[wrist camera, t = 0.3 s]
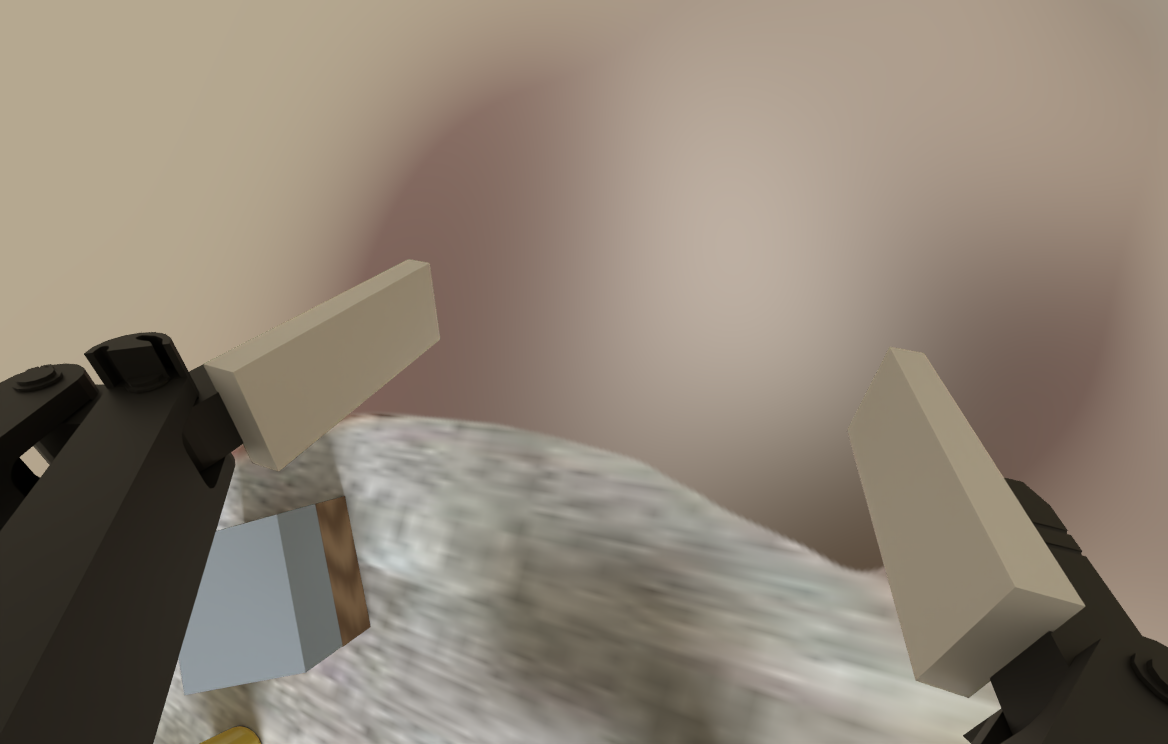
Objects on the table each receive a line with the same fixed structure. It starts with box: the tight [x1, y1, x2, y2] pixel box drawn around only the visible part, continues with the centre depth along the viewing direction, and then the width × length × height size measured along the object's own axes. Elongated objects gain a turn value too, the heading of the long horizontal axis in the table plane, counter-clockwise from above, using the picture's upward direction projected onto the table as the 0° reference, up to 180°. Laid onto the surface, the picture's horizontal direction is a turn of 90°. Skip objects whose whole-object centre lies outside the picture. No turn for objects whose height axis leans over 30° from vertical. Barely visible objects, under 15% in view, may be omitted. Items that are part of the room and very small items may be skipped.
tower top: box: [179, 504, 343, 695], centre depth 50 cm, size 16×16×5 cm
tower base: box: [225, 496, 370, 647], centre depth 55 cm, size 16×16×5 cm
